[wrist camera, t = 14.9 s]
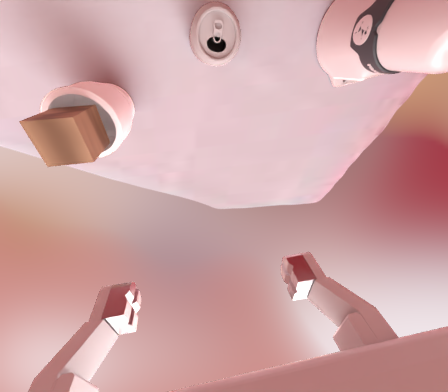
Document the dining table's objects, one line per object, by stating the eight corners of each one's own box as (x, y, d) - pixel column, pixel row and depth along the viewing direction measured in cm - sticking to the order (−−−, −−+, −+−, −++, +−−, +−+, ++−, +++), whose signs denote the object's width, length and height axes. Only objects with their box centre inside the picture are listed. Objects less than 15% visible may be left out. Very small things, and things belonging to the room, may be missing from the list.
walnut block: (95, 104, 28) (72, 117, 22) (110, 142, 31) (93, 161, 25) (53, 107, 27) (19, 121, 22) (72, 146, 30) (47, 166, 25)
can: (188, 61, 39) (190, 63, 29) (189, 10, 35) (191, -7, 25) (226, 66, 40) (239, 70, 31) (230, 18, 36) (248, 4, 27)
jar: (92, 129, 43) (56, 158, 31) (75, 74, 37) (24, 83, 25) (143, 131, 45) (128, 159, 33) (135, 79, 39) (114, 89, 27)
